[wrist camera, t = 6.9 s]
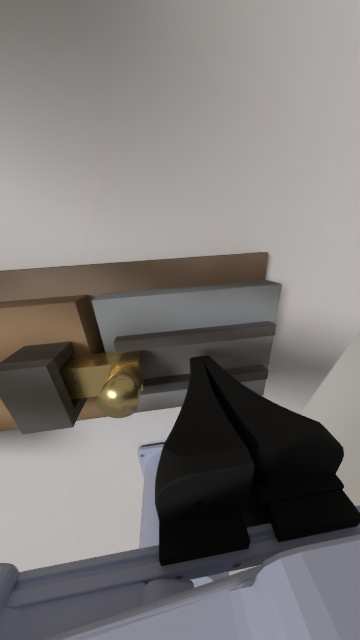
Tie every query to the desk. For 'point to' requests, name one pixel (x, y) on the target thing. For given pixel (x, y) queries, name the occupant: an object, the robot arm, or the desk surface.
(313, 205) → the desk surface
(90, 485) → the desk surface
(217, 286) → the door mockup
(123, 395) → the bolt
